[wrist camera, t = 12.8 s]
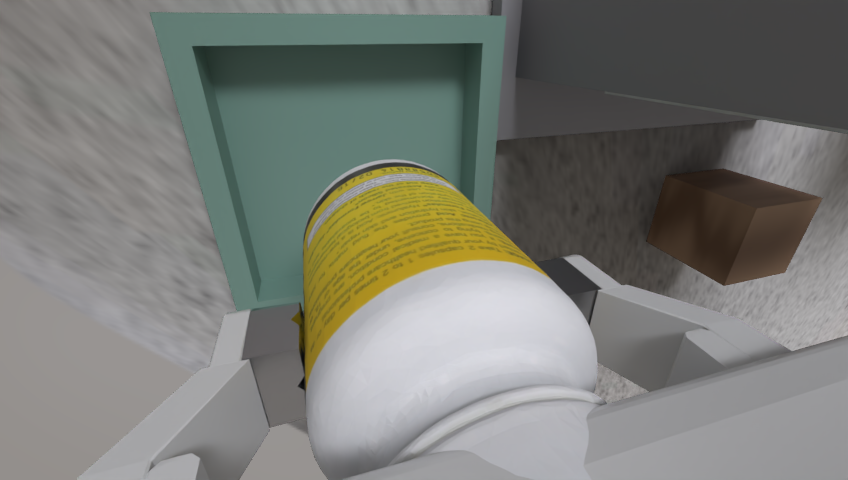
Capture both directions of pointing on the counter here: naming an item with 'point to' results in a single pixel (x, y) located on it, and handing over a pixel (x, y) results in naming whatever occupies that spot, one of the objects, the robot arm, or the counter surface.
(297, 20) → the tray
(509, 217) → the counter surface
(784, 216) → the walnut block
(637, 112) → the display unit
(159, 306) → the counter surface
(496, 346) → the supplement bottle
